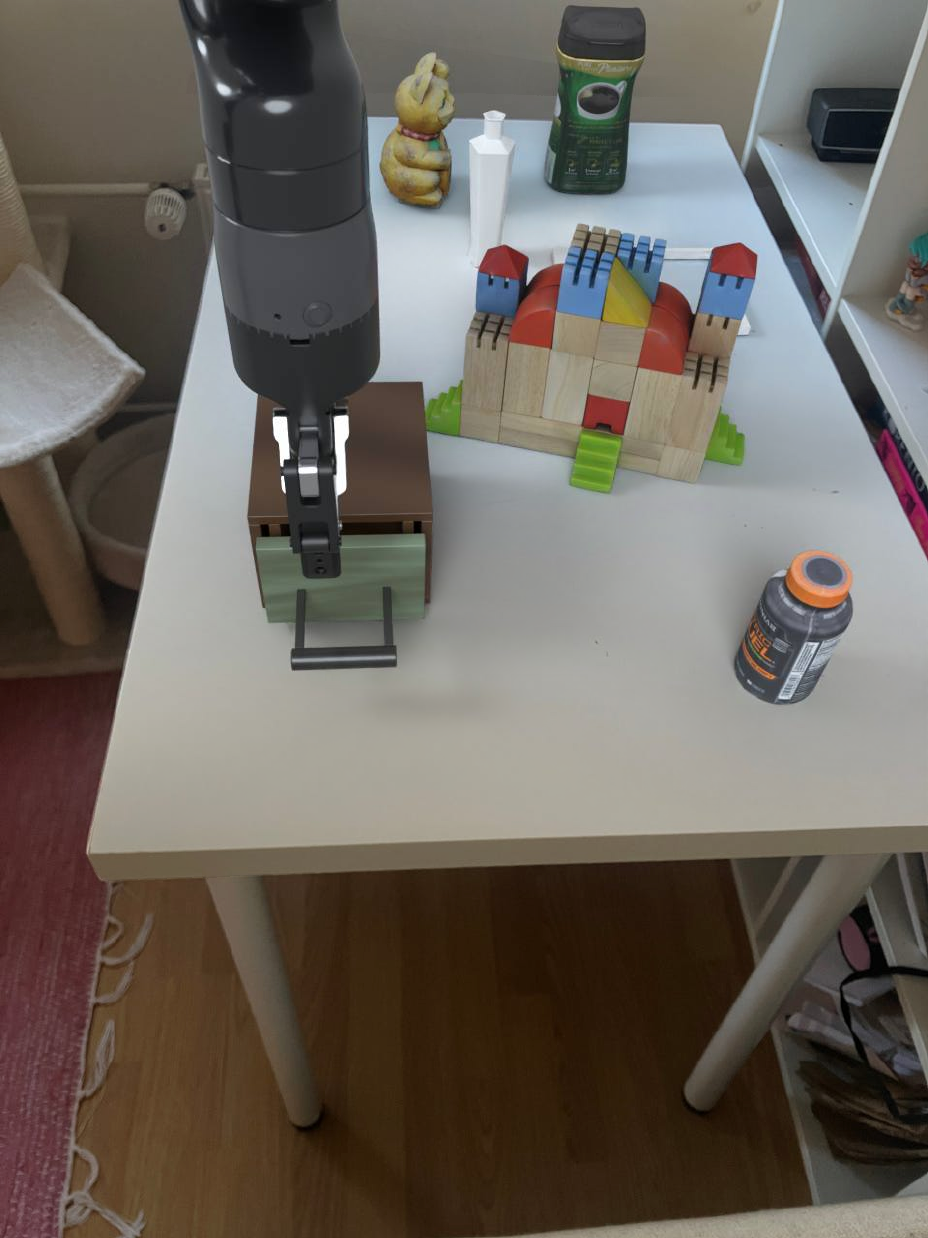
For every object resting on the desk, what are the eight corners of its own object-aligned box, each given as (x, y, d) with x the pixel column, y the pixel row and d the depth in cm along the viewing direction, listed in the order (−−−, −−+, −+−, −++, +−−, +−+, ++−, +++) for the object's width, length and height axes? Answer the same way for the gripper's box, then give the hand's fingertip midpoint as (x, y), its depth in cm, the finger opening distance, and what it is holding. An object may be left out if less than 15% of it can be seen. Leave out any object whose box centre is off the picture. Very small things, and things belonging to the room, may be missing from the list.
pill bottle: (719, 649, 75) (761, 543, 66) (792, 636, 76) (842, 531, 67) (753, 714, 71) (801, 611, 62) (828, 700, 72) (886, 597, 63)
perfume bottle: (513, 266, 107) (526, 122, 95) (475, 272, 106) (483, 128, 94) (498, 244, 109) (509, 102, 98) (460, 250, 108) (466, 106, 97)
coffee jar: (619, 166, 122) (647, -5, 108) (627, 198, 117) (658, 25, 103) (539, 163, 122) (557, -8, 107) (544, 196, 117) (564, 21, 102)
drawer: (429, 693, 70) (431, 622, 64) (263, 699, 69) (249, 627, 63) (415, 492, 83) (416, 417, 77) (275, 495, 82) (265, 419, 76)
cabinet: (430, 603, 76) (433, 513, 69) (262, 608, 75) (246, 516, 68) (421, 473, 85) (422, 380, 78) (271, 475, 84) (258, 382, 77)
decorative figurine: (451, 220, 112) (456, 79, 101) (377, 216, 112) (374, 74, 100) (452, 177, 118) (457, 40, 107) (382, 174, 118) (380, 36, 106)
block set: (409, 454, 87) (410, 250, 72) (449, 360, 96) (458, 160, 81) (735, 520, 84) (807, 319, 69) (745, 415, 92) (811, 218, 78)
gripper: (230, 207, 53) (265, 446, 65) (209, 375, 44) (254, 614, 56) (374, 207, 53) (381, 443, 66) (383, 372, 44) (389, 609, 57)
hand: (322, 522), depth 61 cm, fingers open, 8 cm apart
